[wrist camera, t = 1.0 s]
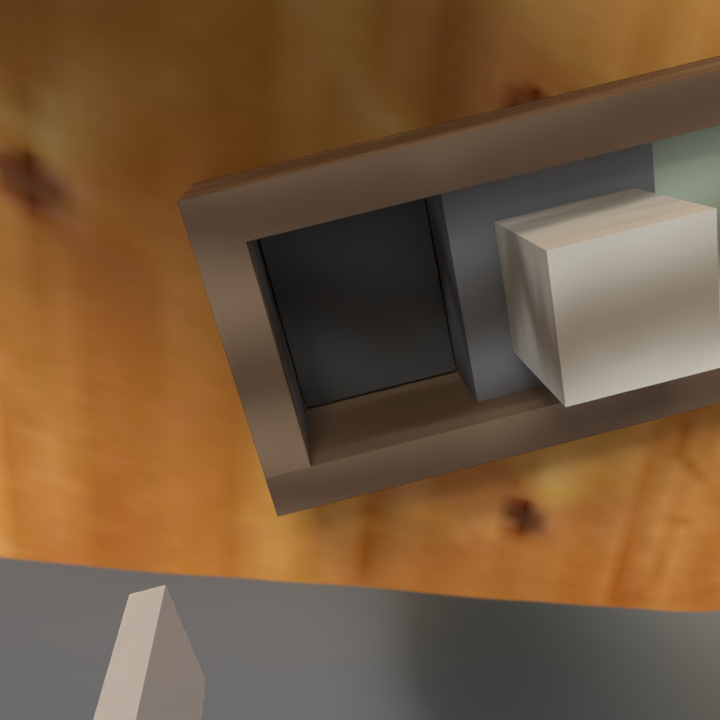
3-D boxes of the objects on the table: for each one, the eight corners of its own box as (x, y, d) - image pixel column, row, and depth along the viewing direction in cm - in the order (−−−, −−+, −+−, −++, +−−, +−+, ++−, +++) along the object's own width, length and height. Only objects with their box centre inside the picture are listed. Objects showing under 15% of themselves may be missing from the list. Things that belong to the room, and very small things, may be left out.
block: (494, 221, 29) (546, 250, 23) (631, 187, 29) (716, 208, 23) (513, 352, 31) (565, 407, 25) (641, 319, 31) (721, 367, 26)
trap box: (195, 183, 31) (177, 202, 25) (1000, -13, 32) (1154, -37, 26) (277, 451, 36) (277, 516, 30) (967, 275, 37) (1091, 307, 31)
